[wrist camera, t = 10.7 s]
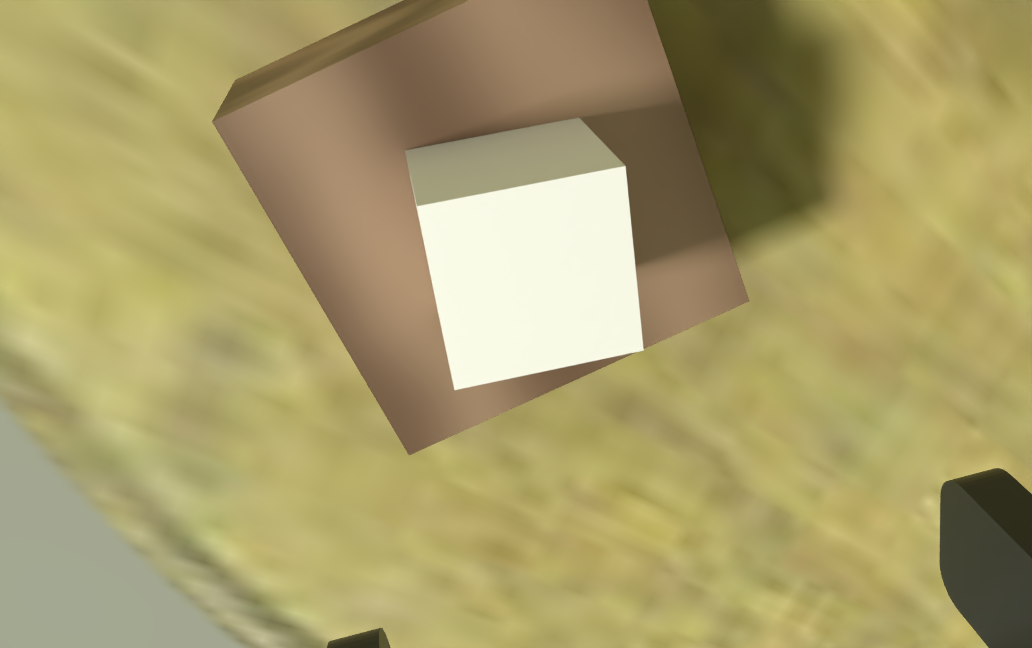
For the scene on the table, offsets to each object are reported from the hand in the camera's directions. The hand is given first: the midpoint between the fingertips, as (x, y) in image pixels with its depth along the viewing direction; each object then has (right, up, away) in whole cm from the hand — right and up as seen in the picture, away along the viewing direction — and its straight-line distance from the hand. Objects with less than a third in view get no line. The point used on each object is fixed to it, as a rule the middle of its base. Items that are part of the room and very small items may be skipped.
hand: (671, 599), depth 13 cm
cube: (-3, +7, +15) cm, 16 cm away
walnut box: (-3, +9, +20) cm, 22 cm away
